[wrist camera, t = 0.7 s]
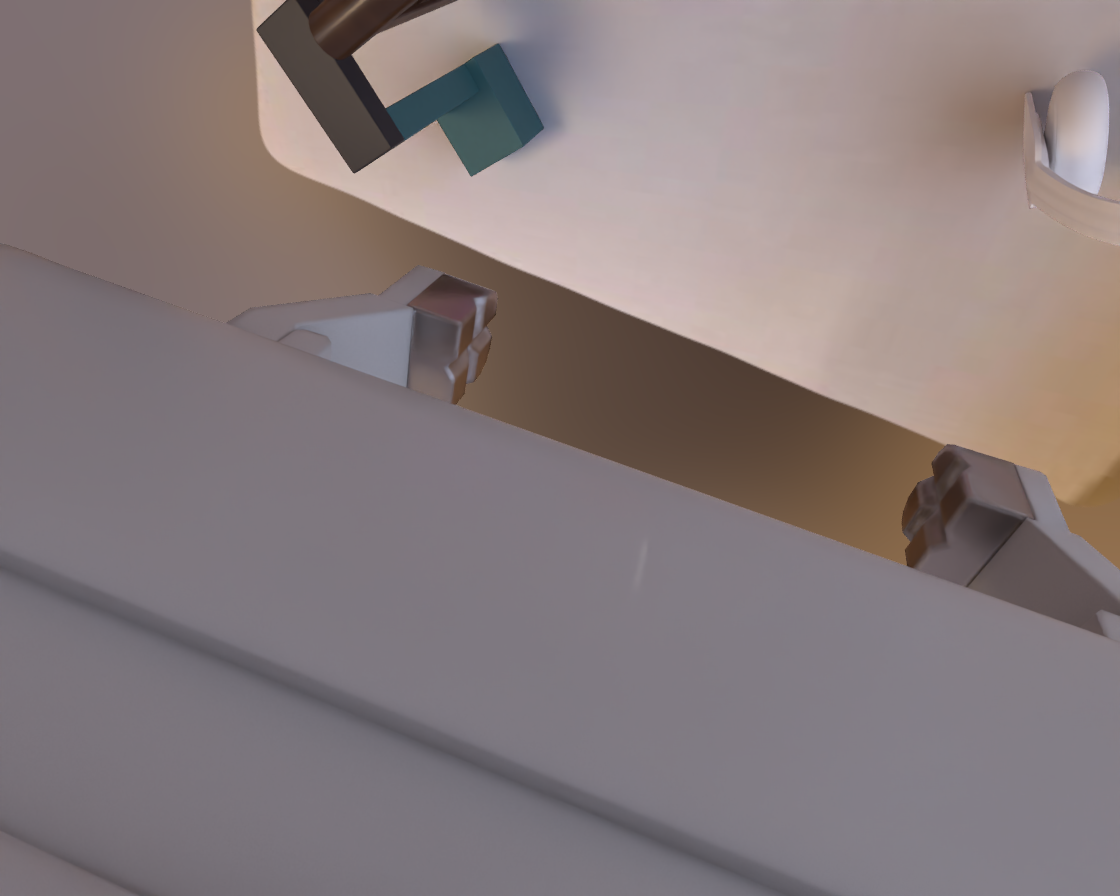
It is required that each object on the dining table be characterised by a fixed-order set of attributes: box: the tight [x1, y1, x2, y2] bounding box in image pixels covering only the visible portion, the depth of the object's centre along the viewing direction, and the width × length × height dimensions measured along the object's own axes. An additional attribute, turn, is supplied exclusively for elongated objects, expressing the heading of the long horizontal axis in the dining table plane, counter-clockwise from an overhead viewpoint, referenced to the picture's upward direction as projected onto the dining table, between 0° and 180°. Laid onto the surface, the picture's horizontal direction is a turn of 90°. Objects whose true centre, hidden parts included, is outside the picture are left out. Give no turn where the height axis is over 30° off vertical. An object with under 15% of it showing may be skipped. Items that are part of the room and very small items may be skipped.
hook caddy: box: [257, 0, 544, 176], centre depth 43 cm, size 12×5×16 cm, turn 32°
